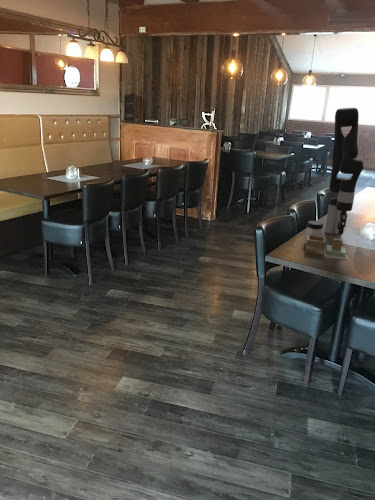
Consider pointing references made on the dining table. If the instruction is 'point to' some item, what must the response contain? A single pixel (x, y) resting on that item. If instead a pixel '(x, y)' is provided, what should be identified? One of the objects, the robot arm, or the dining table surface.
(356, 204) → the dining table surface
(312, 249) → the box
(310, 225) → the jar
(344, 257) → the mat
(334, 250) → the lid
